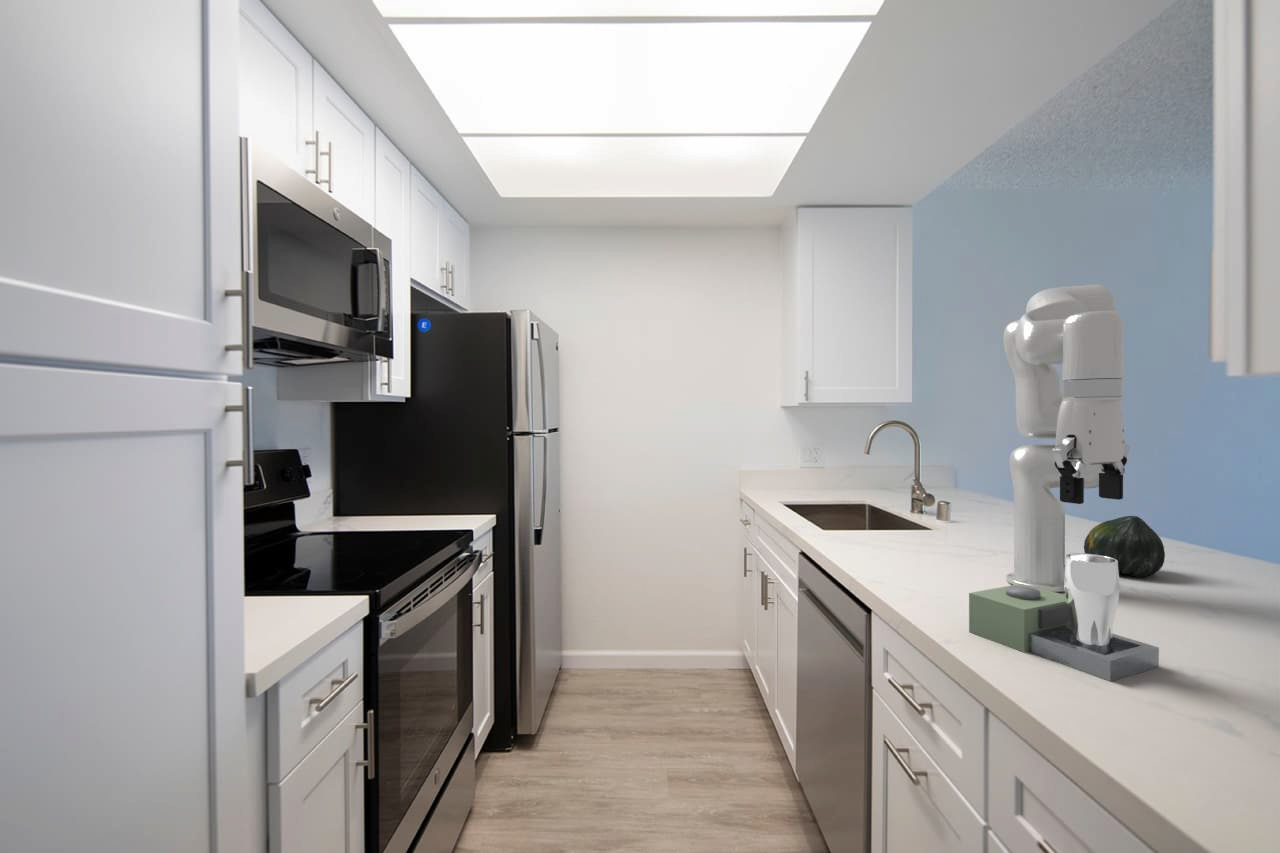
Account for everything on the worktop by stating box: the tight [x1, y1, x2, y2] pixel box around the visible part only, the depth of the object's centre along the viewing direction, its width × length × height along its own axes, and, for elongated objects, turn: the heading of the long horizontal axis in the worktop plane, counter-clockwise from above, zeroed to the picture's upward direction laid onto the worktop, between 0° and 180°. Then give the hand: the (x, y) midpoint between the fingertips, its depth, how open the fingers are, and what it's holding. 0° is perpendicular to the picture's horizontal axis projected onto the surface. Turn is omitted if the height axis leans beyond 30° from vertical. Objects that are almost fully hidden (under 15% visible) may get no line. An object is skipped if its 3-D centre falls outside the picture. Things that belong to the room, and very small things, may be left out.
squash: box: [1083, 515, 1166, 578], centre depth 143 cm, size 14×15×15 cm
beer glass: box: [1064, 552, 1121, 655], centre depth 94 cm, size 7×7×15 cm
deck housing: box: [968, 584, 1070, 653], centre depth 104 cm, size 14×11×8 cm
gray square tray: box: [1028, 624, 1160, 682], centre depth 94 cm, size 12×12×3 cm
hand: (1091, 500), depth 93 cm, fingers open, 9 cm apart
